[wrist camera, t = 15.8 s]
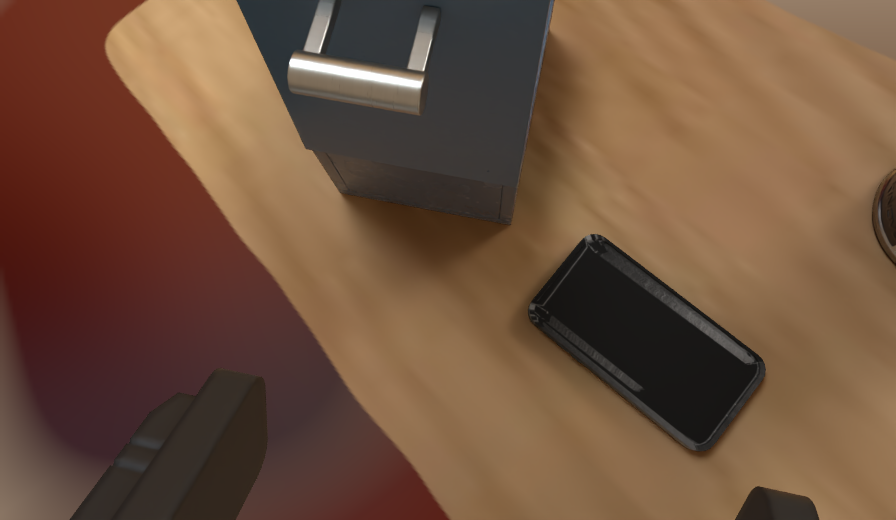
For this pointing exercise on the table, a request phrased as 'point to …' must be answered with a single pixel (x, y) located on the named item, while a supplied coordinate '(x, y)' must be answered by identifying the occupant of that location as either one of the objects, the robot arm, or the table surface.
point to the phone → (647, 342)
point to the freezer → (428, 181)
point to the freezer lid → (408, 78)
